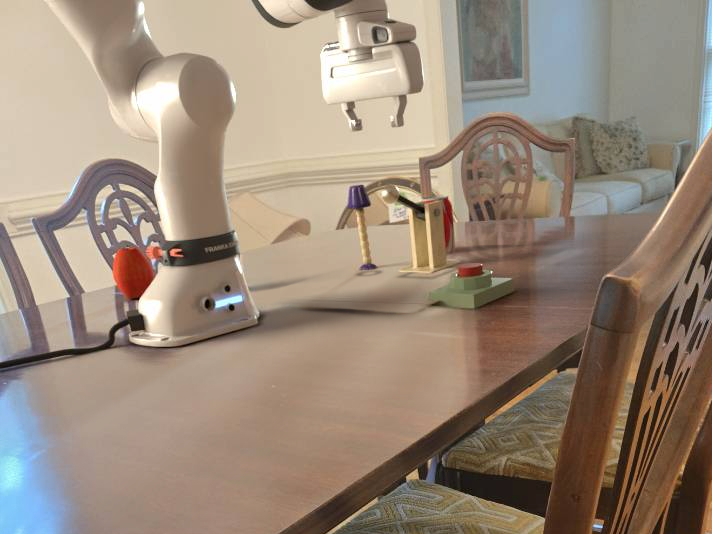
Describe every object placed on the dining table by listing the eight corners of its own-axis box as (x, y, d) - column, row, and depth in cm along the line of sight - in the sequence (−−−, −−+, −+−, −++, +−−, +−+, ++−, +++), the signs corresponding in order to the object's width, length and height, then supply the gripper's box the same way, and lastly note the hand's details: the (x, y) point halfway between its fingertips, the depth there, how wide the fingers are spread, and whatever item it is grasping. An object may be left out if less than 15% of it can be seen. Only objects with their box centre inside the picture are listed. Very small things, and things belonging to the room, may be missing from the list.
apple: (129, 304, 157) (114, 248, 151) (113, 300, 162) (98, 246, 157) (166, 295, 161) (152, 241, 156) (149, 291, 167) (136, 239, 161)
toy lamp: (353, 276, 158) (341, 187, 150) (361, 271, 162) (349, 184, 154) (375, 274, 157) (364, 185, 148) (382, 270, 160) (372, 182, 152)
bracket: (431, 278, 148) (425, 206, 141) (399, 276, 152) (392, 207, 146) (461, 267, 154) (456, 198, 148) (429, 266, 159) (423, 199, 152)
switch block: (474, 308, 122) (473, 283, 120) (429, 305, 127) (427, 280, 125) (513, 291, 130) (513, 267, 128) (469, 289, 135) (468, 265, 133)
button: (474, 279, 124) (473, 268, 124) (453, 278, 127) (453, 267, 126) (487, 274, 127) (487, 263, 126) (467, 273, 129) (466, 262, 128)
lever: (390, 200, 137) (393, 181, 136) (376, 200, 139) (379, 182, 138) (435, 223, 148) (437, 206, 148) (421, 223, 150) (424, 206, 150)
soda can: (421, 261, 165) (415, 200, 159) (425, 255, 171) (420, 196, 165) (453, 258, 163) (449, 197, 157) (457, 253, 169) (453, 193, 163)
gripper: (306, 45, 132) (321, 136, 139) (400, 27, 120) (411, 127, 127) (331, 43, 136) (344, 131, 143) (423, 25, 124) (433, 121, 131)
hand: (376, 129), depth 135 cm, fingers open, 8 cm apart
